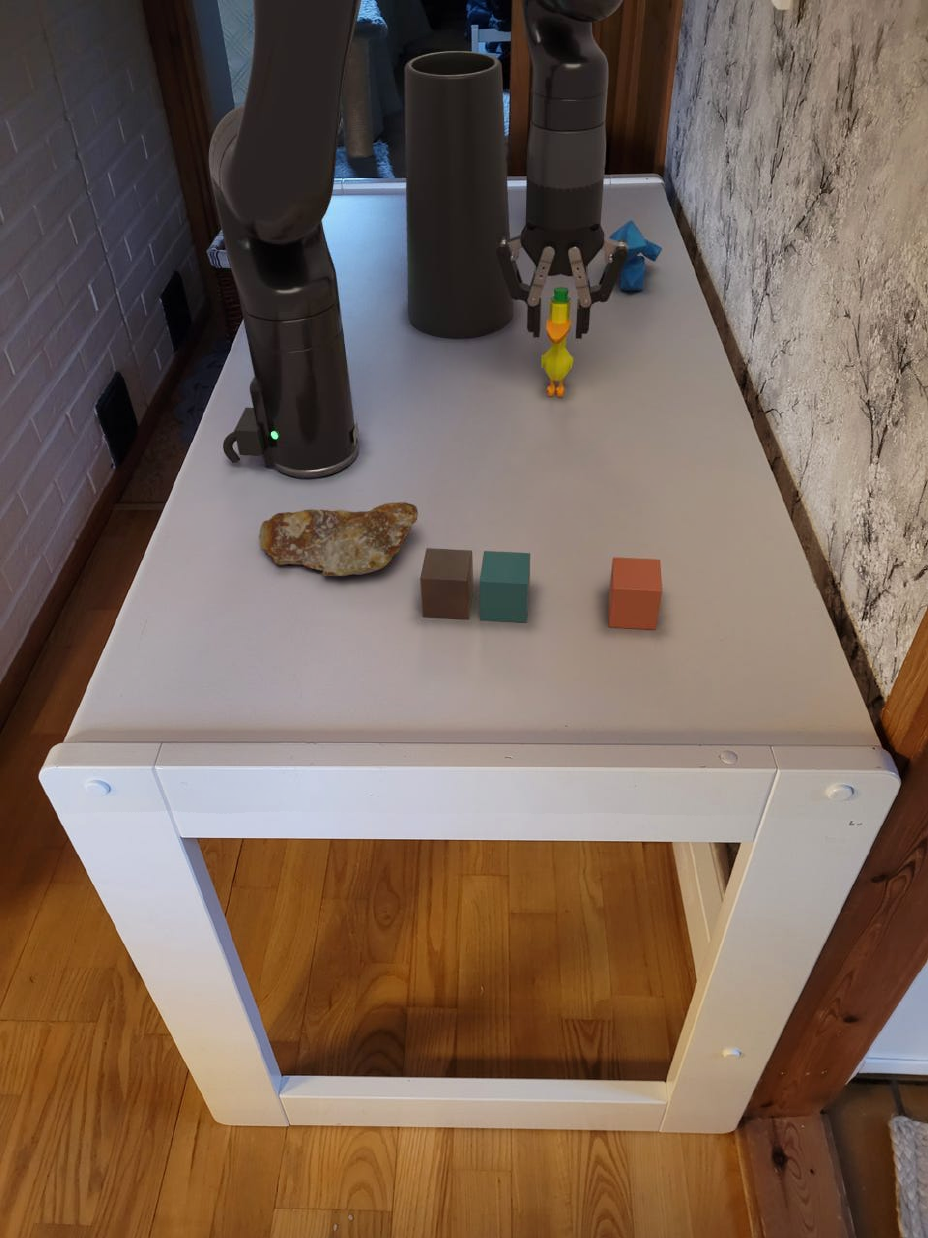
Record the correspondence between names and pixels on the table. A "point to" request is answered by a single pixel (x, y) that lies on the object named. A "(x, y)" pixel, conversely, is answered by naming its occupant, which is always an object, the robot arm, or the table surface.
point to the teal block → (504, 586)
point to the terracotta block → (635, 593)
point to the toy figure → (558, 341)
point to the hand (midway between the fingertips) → (557, 334)
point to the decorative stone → (338, 538)
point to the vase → (456, 194)
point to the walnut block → (447, 583)
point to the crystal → (635, 256)
